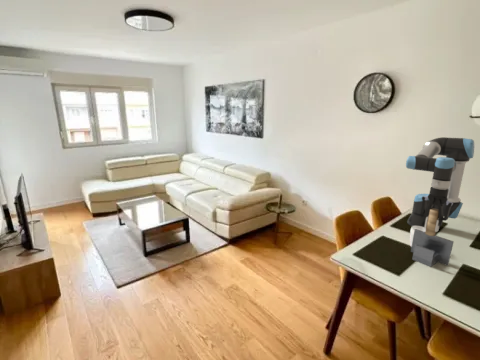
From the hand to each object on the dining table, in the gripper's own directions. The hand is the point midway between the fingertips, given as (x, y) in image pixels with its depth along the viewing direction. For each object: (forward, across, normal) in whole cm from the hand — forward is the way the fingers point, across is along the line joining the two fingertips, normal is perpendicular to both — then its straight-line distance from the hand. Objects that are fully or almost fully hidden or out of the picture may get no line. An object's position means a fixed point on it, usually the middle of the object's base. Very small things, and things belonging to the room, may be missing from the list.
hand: (431, 229), depth 140 cm
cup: (+19, -10, +14) cm, 25 cm away
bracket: (+19, 0, 0) cm, 19 cm away
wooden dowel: (+3, 0, 0) cm, 3 cm away
